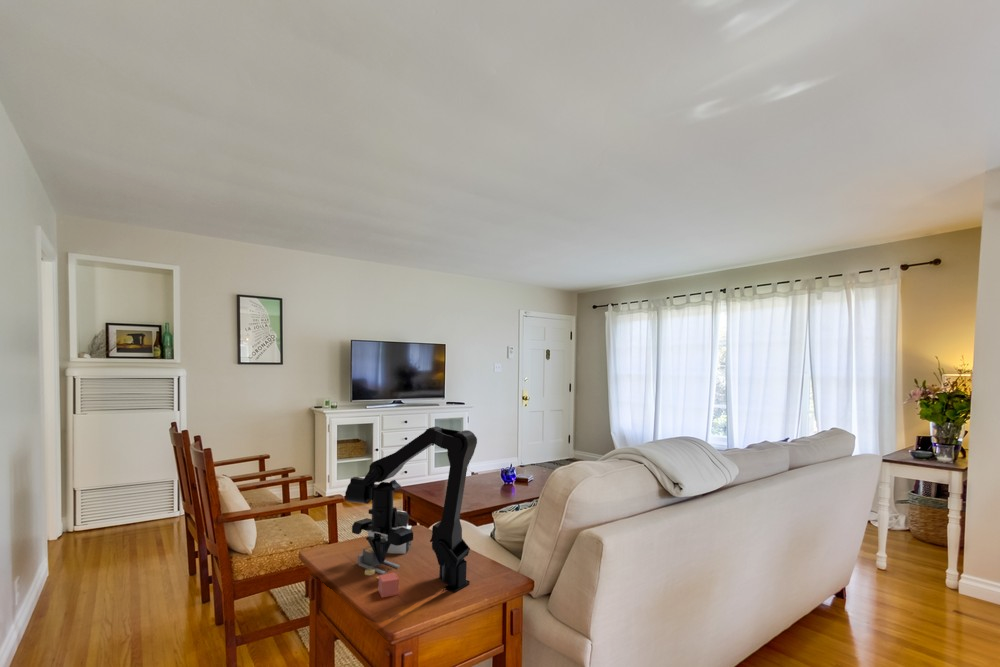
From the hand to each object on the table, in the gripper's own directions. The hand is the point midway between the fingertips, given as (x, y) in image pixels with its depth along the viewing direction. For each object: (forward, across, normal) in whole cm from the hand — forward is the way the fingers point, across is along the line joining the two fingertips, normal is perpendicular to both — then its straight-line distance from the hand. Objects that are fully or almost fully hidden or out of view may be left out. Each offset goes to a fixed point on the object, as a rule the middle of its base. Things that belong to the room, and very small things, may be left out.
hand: (381, 563), depth 135 cm
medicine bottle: (+2, +6, -12) cm, 14 cm away
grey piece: (+2, 0, +1) cm, 3 cm away
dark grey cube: (+1, +4, 0) cm, 4 cm away
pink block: (+3, -12, +9) cm, 16 cm away
